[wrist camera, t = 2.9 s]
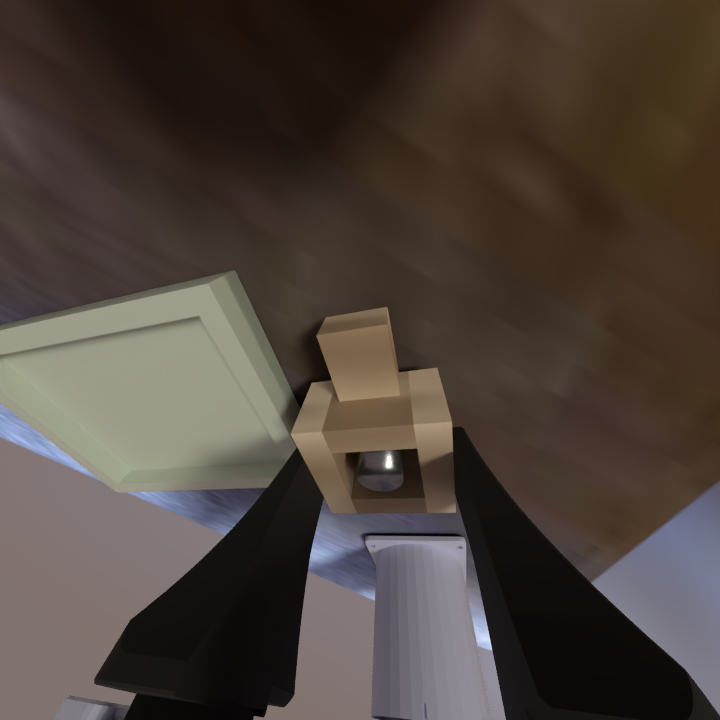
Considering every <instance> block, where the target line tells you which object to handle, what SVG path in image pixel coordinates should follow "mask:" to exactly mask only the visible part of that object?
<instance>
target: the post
mask: <svg viewBox="0 0 720 720" xmlns="http://www.w3.org/2000/svg"><path fill="white" fill-rule="evenodd" d="M357 478H358V481H359V482H360V483H361V485H363V486H364V487H366V488H368V489H370V490H374V491H381V492H385V491H392V490H395V489H397V488H399V487H400V486H401V485H402V483H403V460H402V449H398V450H381V451H364V452H360V458H359V466H358V475H357Z"/></svg>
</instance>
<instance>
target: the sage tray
mask: <svg viewBox="0 0 720 720" xmlns="http://www.w3.org/2000/svg"><path fill="white" fill-rule="evenodd" d="M0 403H1V404H3V405H4V406H5V407H6V408H8V409H9V410H10V411H12V412H13V413H14V414H16V415H17V416H18V417H19V418H21V419H22V420H23V421H25V422H26V423H27V424H29V425H30V426H31V427H32V428H34V429H35V430H36V431H38V432H39V433H40V434H42V435H43V436H44V437H45V438H47V439H48V440H49V441H51V442H52V443H53V444H55V445H56V446H57V447H58V448H60V449H61V450H62V451H64V452H65V453H66V454H68V455H69V456H70V457H71V458H73V459H74V460H75V461H77V462H78V463H79V464H80V465H82V466H83V467H84V468H86V469H87V470H88V471H90V472H91V473H92V474H93V475H95V476H96V477H97V478H99V479H100V480H101V481H103V482H104V483H105V484H107V485H108V486H109V487H110V488H112V489H113V490H114V491H116V492H117V493H118V492H119V493H122V492H152V491H183V490H213V489H244V488H267V487H268V486H269V485H270V483H271V482H272V481H273V479H274V478H275V477H276V475H277V474H278V473H279V471H280V470H281V469H282V467H283V466H284V465H285V463H286V462H287V460H288V459H289V458H290V456H291V455H292V453H293V452H294V451H295V449H296V448H297V446H296V444H295V442H294V440H293V438H292V436H291V432H292V429H293V427H294V424H295V422H296V420H297V417H298V415H299V412H300V410H301V409H300V407H299V405H298V403H297V401H296V399H295V396H294V394H293V392H292V390H291V388H290V386H289V384H288V382H287V379H286V377H285V375H284V373H283V371H282V369H281V367H280V365H279V362H278V360H277V358H276V356H275V354H274V352H273V350H272V348H271V345H270V343H269V341H268V339H267V337H266V335H265V333H264V331H263V328H262V326H261V324H260V322H259V320H258V318H257V316H256V314H255V311H254V309H253V307H252V305H251V303H250V301H249V299H248V297H247V294H246V292H245V290H244V288H243V286H242V284H241V282H240V280H239V278H238V275H237V273H236V271H235V270H233V271H229V272H224V273H220V274H216V275H211V276H207V277H203V278H198V279H194V280H190V281H186V282H181V283H177V284H173V285H168V286H164V287H160V288H155V289H151V290H147V291H142V292H138V293H134V294H130V295H125V296H121V297H117V298H112V299H108V300H104V301H99V302H95V303H91V304H87V305H82V306H78V307H74V308H69V309H65V310H61V311H56V312H52V313H48V314H44V315H39V316H35V317H31V318H26V319H22V320H18V321H13V322H9V323H5V324H1V325H0Z"/></svg>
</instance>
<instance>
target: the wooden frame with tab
mask: <svg viewBox="0 0 720 720" xmlns="http://www.w3.org/2000/svg"><path fill="white" fill-rule="evenodd" d="M316 336H317V339H318V342H319V344H320V347H321V350H322V353H323V356H324V359H325V362H326V364H327V367H328V370H329V373H330V376H331V379H332V380H331V381H323V382H314V383H312V384H311V386H310V388H309V391H308V393H307V396H306V398H305V400H304V403H303V405H302V408H301V410H300V412H299V415H298V417H297V420H296V422H295V424H294V427H293V429H292V432H291V436H292V438H293V440H294V442H295V444H296V446H297V447H298V449H299V451H300V453H301V455H302V457H303V459H304V461H305V463H306V464H307V466H308V468H309V470H310V472H311V474H312V476H313V478H314V479H315V481H316V483H317V485H318V487H319V489H320V491H321V493H322V494H323V496H324V498H325V500H326V502H327V504H328V506H329V508H330V510H331V511H332V513H333V514H360V513H456V506H455V483H454V459H453V436H452V420H451V417H450V413H449V409H448V406H447V402H446V398H445V395H444V391H443V387H442V384H441V380H440V376H439V372H438V369H437V368H431V369H423V370H414V371H406V372H399V371H398V365H397V360H396V354H395V348H394V342H393V336H392V331H391V325H390V319H389V313H388V308H387V307H384V308H378V309H372V310H366V311H361V312H355V313H349V314H343V315H338V316H332V317H326V318H325V320H324V322H323V324H322V326H321V328H320V330H319V332H318V333H317V335H316ZM398 449H402V460H403V483H402V485H401V486H400V487H399V488H397V489H395V490H392V491H385V492H381V491H374V490H370V489H368V488H366V487H364V486H363V485H361V483H360V482H359V481H358V478H357V475H358V466H359V458H360V452H364V451H381V450H398Z"/></svg>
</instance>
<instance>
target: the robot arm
mask: <svg viewBox="0 0 720 720" xmlns="http://www.w3.org/2000/svg"><path fill="white" fill-rule="evenodd" d="M452 436H453V459H454V483H455V495H456V499H457V502H458V505H459V509H460V512H461V516H462V519H463V523H464V526H465V529H466V533H467V536H468V540H469V543H470V547H471V551H472V554H473V558H474V563H475V568H476V572H477V577H478V582H479V586H480V591H481V596H482V601H483V606H484V611H485V615H486V620H487V625H488V630H489V635H490V640H491V645H492V650H493V655H494V660H495V665H496V670H497V675H498V680H499V685H500V690H501V696H502V701H503V706H504V711H505V716H506V720H720V716H719V714H718V713H717V711H716V710H715V709H714V707H713V706H712V705H711V703H710V702H709V700H708V699H707V698H706V696H705V695H704V694H703V692H702V691H701V690H700V688H699V687H698V686H697V684H696V683H695V682H694V680H693V679H692V678H691V676H690V675H689V674H688V673H687V671H686V670H685V669H684V668H683V667H682V666H680V665H679V664H678V663H677V662H676V661H675V660H674V659H673V658H672V657H671V656H669V655H668V654H667V653H666V652H665V651H664V650H663V649H662V648H660V647H659V646H658V645H657V644H656V643H655V642H653V640H651V639H650V638H649V637H648V636H647V635H646V634H645V633H644V632H642V631H641V630H640V629H639V628H638V627H637V626H636V625H635V624H634V623H633V622H632V621H630V620H629V619H628V618H627V617H626V616H625V615H624V614H623V613H622V612H621V611H620V610H619V609H618V608H616V607H615V606H614V605H613V604H612V603H611V602H610V601H609V600H608V599H607V598H606V597H605V596H604V595H603V594H602V593H600V591H598V590H597V589H596V588H595V587H594V586H593V585H592V584H591V583H590V582H589V581H588V580H587V579H586V578H585V577H584V576H583V575H582V574H581V573H580V572H579V571H578V570H577V569H576V568H575V567H574V566H573V565H572V564H571V563H570V562H569V561H568V560H567V559H566V558H565V557H564V556H563V555H562V554H561V553H560V552H559V551H558V550H557V549H556V547H555V546H554V545H553V544H552V543H551V542H550V541H549V540H548V539H547V538H546V537H545V536H544V535H543V534H542V533H541V531H540V530H539V529H538V528H537V527H536V526H535V525H534V524H533V523H532V521H531V520H530V519H529V518H528V517H527V516H526V515H525V513H524V512H523V511H522V510H521V509H520V508H519V506H518V505H517V504H516V503H515V502H514V500H513V499H512V498H511V497H510V495H509V494H508V493H507V492H506V490H505V489H504V488H503V487H502V485H501V484H500V483H499V481H498V480H497V479H496V477H495V476H494V475H493V473H492V472H491V470H490V469H489V468H488V466H487V465H486V464H485V462H484V461H483V459H482V458H481V456H480V455H479V453H478V452H477V450H476V449H475V447H474V445H473V444H472V442H471V441H470V439H469V437H468V435H467V433H466V432H465V430H464V428H462V427H453V428H452ZM323 498H324V496H323V494H322V493H321V491H320V489H319V487H318V485H317V483H316V481H315V479H314V478H313V476H312V474H311V472H310V470H309V468H308V466H307V464H306V463H305V461H304V459H303V457H302V455H301V453H300V451H299V449H298V447H297V448H296V449H295V451H294V452H293V453H292V455H291V456H290V458H289V459H288V460H287V462H286V463H285V465H284V466H283V467H282V469H281V470H280V471H279V473H278V474H277V475H276V477H275V478H274V479H273V481H272V482H271V483H270V485H269V486H268V487H267V489H266V490H265V491H264V492H263V494H262V495H261V496H260V497H259V499H258V500H257V501H256V502H255V504H254V505H253V506H252V507H251V508H250V509H249V511H248V512H247V513H246V514H245V515H244V516H243V518H242V519H241V520H240V521H239V522H238V523H237V524H236V525H235V526H234V527H233V529H232V530H231V531H230V532H229V533H228V534H227V535H226V536H225V537H224V538H223V539H222V540H221V541H220V542H219V543H218V544H217V545H216V546H215V547H214V548H213V549H212V550H211V551H210V552H209V553H208V554H207V555H206V556H205V557H204V558H203V559H202V560H201V561H199V562H198V563H197V564H196V565H195V566H194V567H193V568H192V569H191V570H190V571H188V572H187V573H186V574H185V575H184V576H183V577H182V578H181V579H179V581H177V582H176V583H175V584H174V585H173V586H171V587H170V588H169V589H168V590H167V591H166V592H165V593H163V594H162V595H161V596H160V597H158V598H157V599H156V600H155V601H153V602H152V603H151V604H150V605H148V606H147V607H146V608H145V609H144V610H142V611H141V612H140V613H139V614H137V615H136V616H135V617H134V618H132V619H131V620H130V622H129V623H128V625H127V626H126V628H125V630H124V631H123V633H122V635H121V636H120V638H119V639H118V641H117V643H116V644H115V646H114V648H113V649H112V651H111V653H110V654H109V656H108V657H107V659H106V661H105V662H104V664H103V666H102V667H101V669H100V671H99V672H98V674H97V675H96V677H95V679H94V683H95V684H96V685H101V686H105V687H110V688H114V689H119V690H123V691H128V692H132V693H137V694H136V696H135V698H134V700H133V702H132V704H131V706H127V705H120V704H115V703H109V702H103V701H98V700H92V699H87V698H81V697H75V696H69V697H67V698H66V699H65V700H64V702H63V704H62V705H61V707H60V708H59V710H58V711H57V713H56V714H55V716H54V717H53V719H52V720H253V717H254V716H258V717H264V716H265V713H266V710H267V705H272V706H279V707H285V706H286V705H287V704H288V703H289V701H290V700H291V699H292V697H293V696H294V691H295V678H296V666H297V655H298V644H299V635H300V625H301V617H302V608H303V600H304V593H305V585H306V579H307V572H308V566H309V559H310V553H311V548H312V544H313V539H314V535H315V531H316V527H317V523H318V519H319V514H320V510H321V506H322V502H323ZM365 544H366V546H367V548H368V550H369V552H370V555H371V557H372V559H373V561H374V563H375V565H376V591H375V619H374V647H373V648H374V649H373V675H372V704H371V717H372V718H375V719H379V720H491V714H490V709H489V704H488V699H487V694H486V689H485V684H484V678H483V673H482V668H481V663H480V658H479V652H478V647H477V642H476V637H475V632H474V626H473V621H472V616H471V611H470V606H469V601H468V595H467V590H466V542H465V539H464V538H463V537H460V536H366V537H365Z"/></svg>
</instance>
